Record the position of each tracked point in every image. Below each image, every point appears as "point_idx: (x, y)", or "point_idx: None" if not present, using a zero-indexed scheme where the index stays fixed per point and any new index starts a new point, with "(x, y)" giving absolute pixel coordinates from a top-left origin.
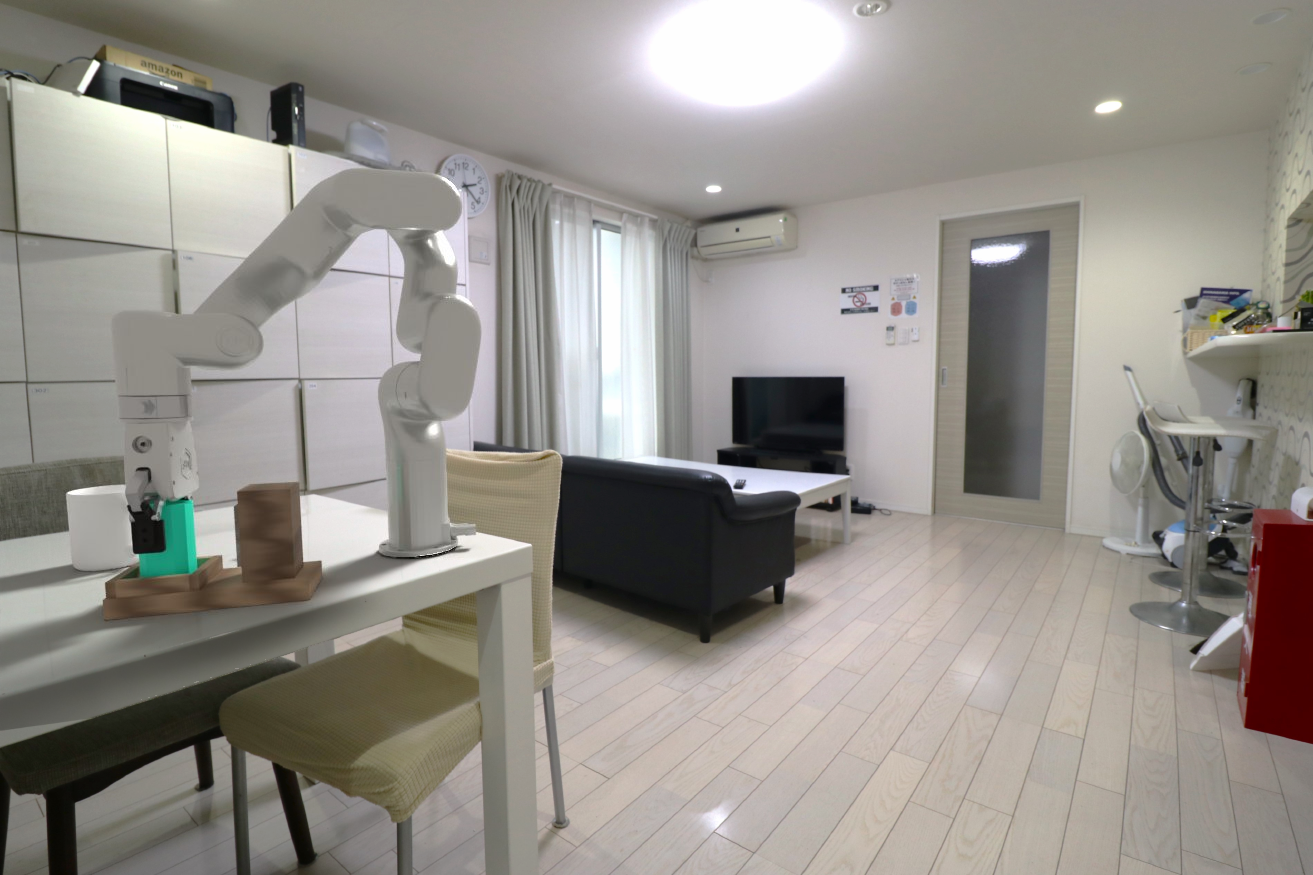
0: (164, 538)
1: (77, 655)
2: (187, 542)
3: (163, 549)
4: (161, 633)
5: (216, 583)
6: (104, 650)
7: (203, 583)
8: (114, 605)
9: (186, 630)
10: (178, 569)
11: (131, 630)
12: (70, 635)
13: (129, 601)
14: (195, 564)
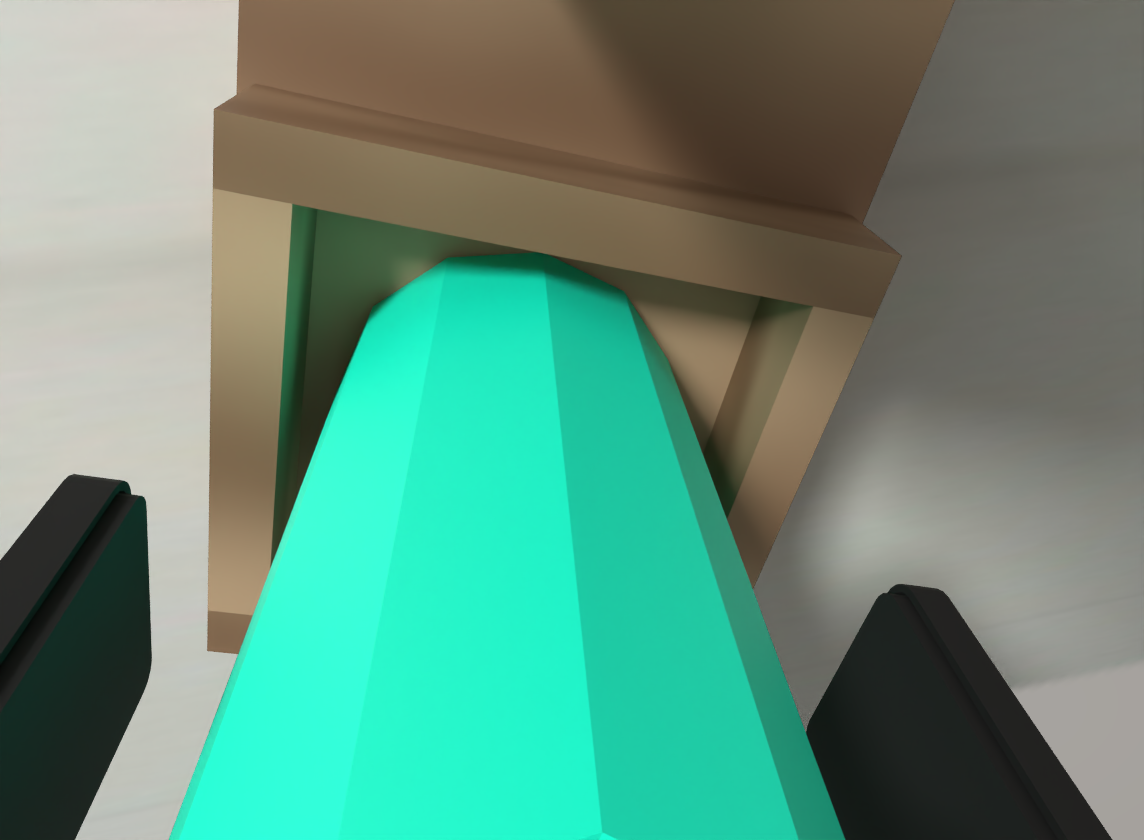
0: (990, 673)
1: (1086, 554)
2: (670, 466)
3: (947, 601)
4: (1073, 320)
5: (727, 109)
6: (1110, 487)
7: (767, 201)
8: None
9: (1129, 214)
10: (678, 404)
11: (914, 443)
12: (804, 621)
13: None
14: (560, 307)
